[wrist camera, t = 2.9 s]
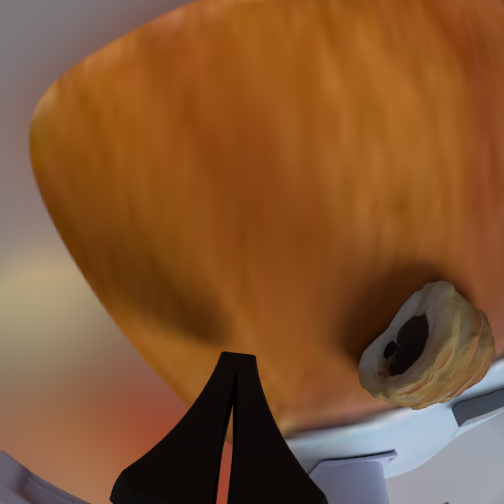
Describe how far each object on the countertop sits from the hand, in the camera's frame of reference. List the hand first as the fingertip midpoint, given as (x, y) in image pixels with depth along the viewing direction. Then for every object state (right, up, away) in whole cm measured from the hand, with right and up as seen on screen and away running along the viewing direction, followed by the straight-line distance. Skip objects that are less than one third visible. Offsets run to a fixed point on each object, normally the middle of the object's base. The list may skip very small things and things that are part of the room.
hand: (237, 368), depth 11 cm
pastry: (+10, 0, +1) cm, 10 cm away
